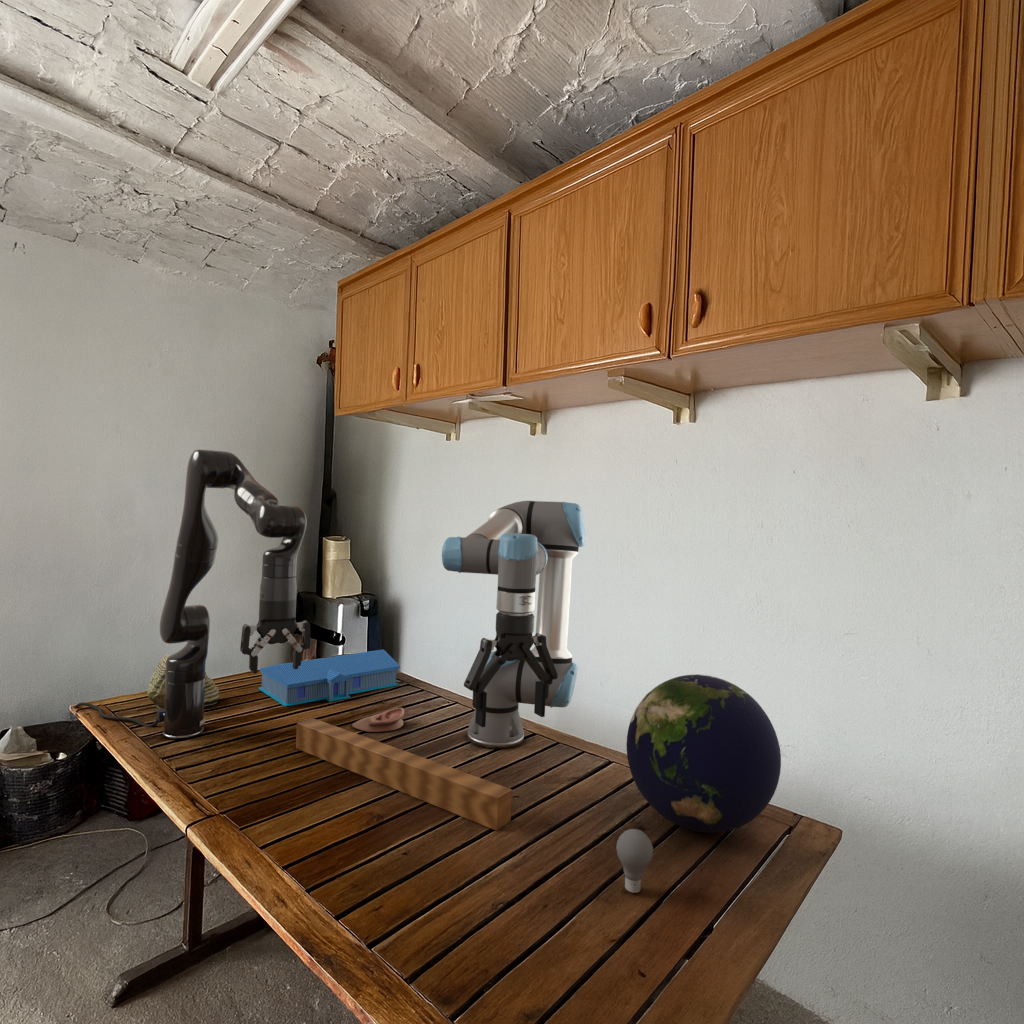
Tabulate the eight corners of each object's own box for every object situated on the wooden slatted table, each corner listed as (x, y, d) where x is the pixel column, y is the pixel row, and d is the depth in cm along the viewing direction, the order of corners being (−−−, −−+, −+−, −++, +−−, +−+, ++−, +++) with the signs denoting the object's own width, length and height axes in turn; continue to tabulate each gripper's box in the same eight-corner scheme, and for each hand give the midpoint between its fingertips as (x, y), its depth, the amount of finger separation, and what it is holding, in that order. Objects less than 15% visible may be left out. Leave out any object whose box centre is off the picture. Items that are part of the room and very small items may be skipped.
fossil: (144, 707, 182) (145, 655, 182) (212, 696, 194) (213, 647, 194) (151, 716, 175) (153, 662, 175) (221, 703, 188) (223, 653, 188)
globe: (608, 841, 121) (615, 684, 120) (638, 779, 148) (644, 652, 148) (777, 883, 110) (786, 711, 109) (776, 808, 137) (783, 670, 137)
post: (295, 748, 158) (296, 722, 158) (311, 742, 162) (312, 717, 162) (496, 830, 123) (498, 798, 123) (510, 821, 127) (512, 789, 127)
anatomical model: (347, 714, 172) (365, 702, 183) (346, 729, 172) (365, 715, 183) (393, 720, 169) (409, 707, 181) (392, 735, 169) (408, 720, 181)
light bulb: (610, 879, 108) (613, 822, 108) (644, 879, 109) (647, 822, 109) (619, 902, 102) (622, 840, 102) (655, 901, 103) (658, 840, 103)
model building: (289, 709, 186) (291, 675, 185) (258, 688, 204) (259, 657, 204) (403, 687, 212) (405, 657, 212) (366, 670, 230) (368, 643, 230)
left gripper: (306, 592, 145) (303, 663, 145) (239, 595, 137) (237, 669, 138) (316, 598, 139) (312, 671, 139) (246, 601, 131) (243, 679, 131)
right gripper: (467, 619, 115) (462, 736, 115) (577, 612, 128) (573, 716, 128) (449, 612, 121) (444, 722, 121) (556, 606, 134) (551, 705, 134)
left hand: (275, 670), depth 138 cm, fingers open, 8 cm apart
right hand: (510, 719), depth 125 cm, fingers open, 13 cm apart
